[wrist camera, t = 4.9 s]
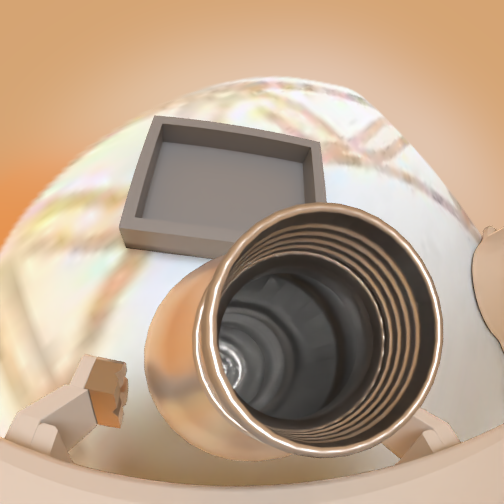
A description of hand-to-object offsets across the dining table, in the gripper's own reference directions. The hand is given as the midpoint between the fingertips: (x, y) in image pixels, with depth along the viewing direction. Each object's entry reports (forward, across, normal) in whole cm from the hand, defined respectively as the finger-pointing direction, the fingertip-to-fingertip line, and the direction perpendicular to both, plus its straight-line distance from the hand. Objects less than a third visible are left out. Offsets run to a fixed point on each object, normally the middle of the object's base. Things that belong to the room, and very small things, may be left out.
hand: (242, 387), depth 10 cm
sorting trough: (+20, 0, -2) cm, 20 cm away
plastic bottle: (+10, 0, +8) cm, 13 cm away
